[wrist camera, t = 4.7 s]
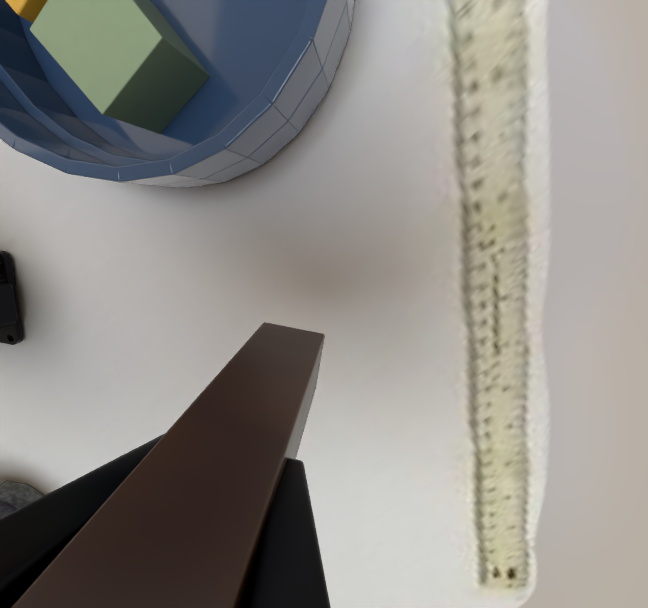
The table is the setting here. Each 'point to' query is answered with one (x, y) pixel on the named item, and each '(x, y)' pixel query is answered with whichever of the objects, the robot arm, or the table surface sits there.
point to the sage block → (122, 58)
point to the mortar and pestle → (16, 497)
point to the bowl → (200, 111)
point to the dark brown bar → (196, 492)
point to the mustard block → (27, 8)
